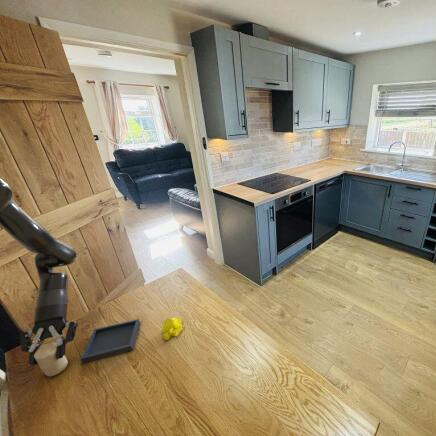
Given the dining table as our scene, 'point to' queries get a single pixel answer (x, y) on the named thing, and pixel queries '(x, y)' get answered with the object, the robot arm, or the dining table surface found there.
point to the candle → (50, 359)
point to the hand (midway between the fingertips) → (47, 361)
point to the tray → (111, 341)
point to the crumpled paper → (171, 328)
